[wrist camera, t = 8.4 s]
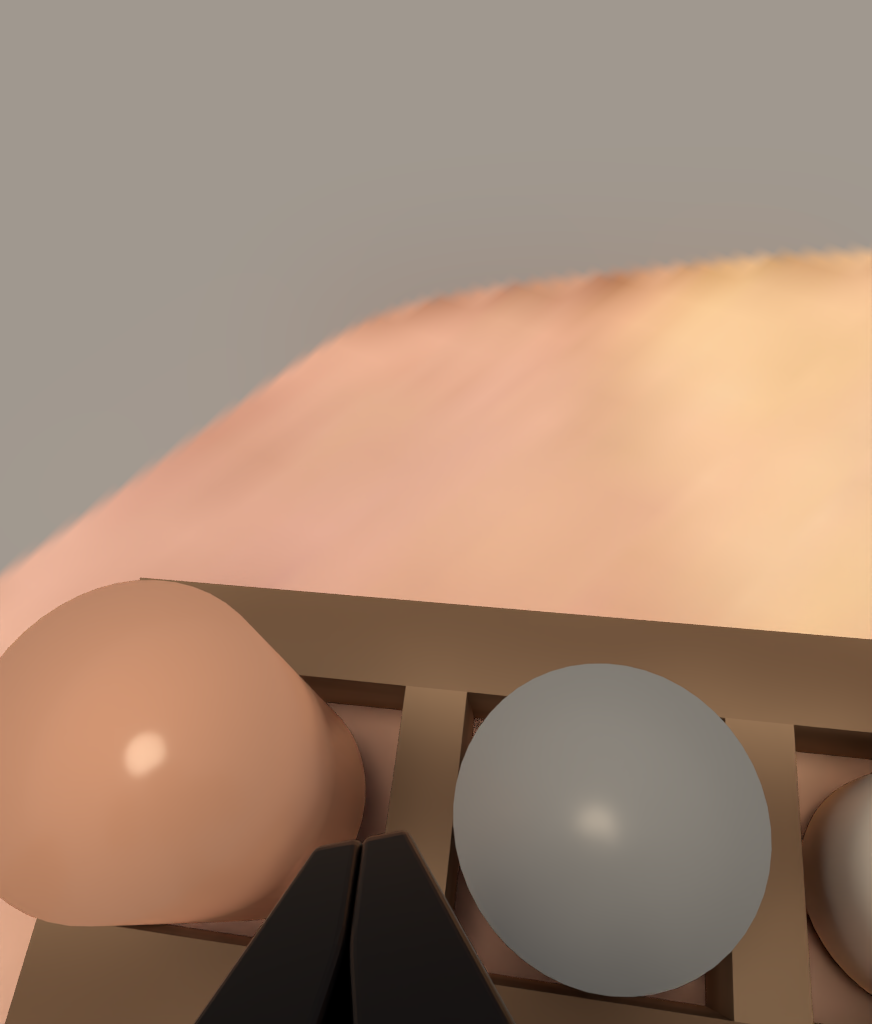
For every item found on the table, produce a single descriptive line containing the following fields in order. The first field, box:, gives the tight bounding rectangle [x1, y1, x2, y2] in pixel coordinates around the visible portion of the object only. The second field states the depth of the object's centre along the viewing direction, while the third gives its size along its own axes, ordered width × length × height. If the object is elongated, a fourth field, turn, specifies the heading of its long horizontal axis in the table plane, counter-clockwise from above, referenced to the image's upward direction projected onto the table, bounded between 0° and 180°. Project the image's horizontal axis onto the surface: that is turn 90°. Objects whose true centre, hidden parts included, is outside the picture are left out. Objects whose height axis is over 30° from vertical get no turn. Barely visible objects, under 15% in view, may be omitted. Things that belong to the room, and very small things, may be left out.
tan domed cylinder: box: [0, 580, 366, 926], centre depth 13 cm, size 4×4×6 cm
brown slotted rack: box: [5, 578, 872, 1024], centre depth 16 cm, size 9×21×2 cm, turn 83°
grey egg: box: [453, 664, 772, 997], centre depth 14 cm, size 4×4×6 cm
